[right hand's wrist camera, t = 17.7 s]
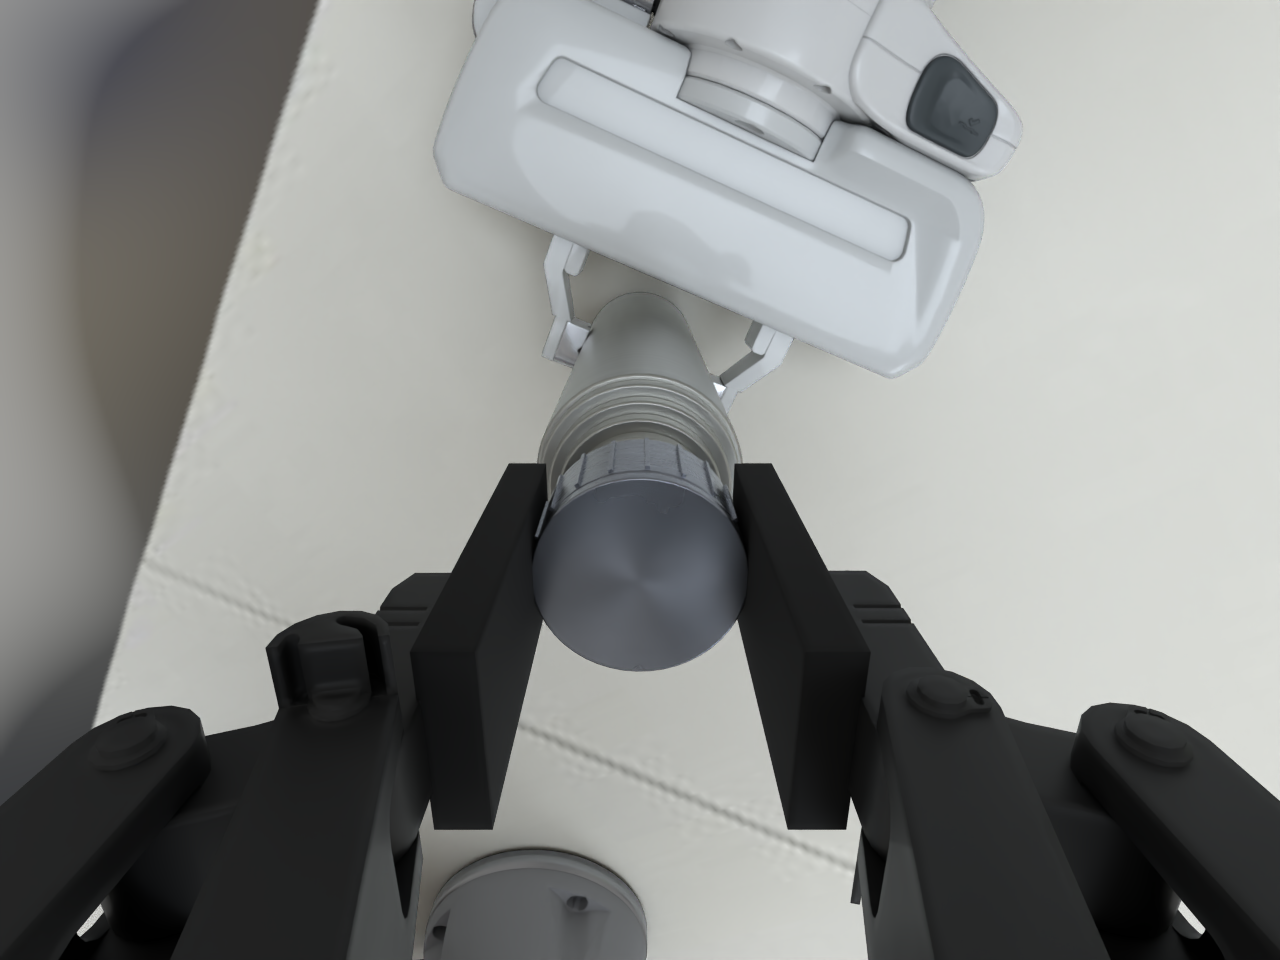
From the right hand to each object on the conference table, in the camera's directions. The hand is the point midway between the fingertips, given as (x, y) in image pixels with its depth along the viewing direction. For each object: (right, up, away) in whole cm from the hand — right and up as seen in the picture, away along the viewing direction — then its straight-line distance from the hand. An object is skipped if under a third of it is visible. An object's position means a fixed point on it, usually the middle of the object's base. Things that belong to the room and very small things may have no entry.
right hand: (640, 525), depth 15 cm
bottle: (0, +8, +20) cm, 22 cm away
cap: (0, -1, -2) cm, 2 cm away
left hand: (0, +5, +15) cm, 16 cm away
